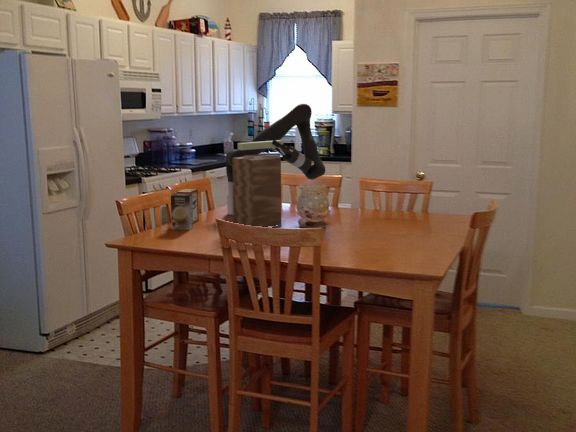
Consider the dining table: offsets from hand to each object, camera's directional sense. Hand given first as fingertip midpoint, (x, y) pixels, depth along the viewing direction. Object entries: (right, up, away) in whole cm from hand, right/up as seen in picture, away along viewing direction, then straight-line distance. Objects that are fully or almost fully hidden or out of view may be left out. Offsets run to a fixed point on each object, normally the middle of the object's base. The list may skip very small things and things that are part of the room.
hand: (270, 141), depth 305 cm
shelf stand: (-6, -40, -3) cm, 41 cm away
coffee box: (-40, -42, -8) cm, 59 cm away
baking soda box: (-40, -39, +6) cm, 56 cm away
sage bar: (-4, -4, -3) cm, 6 cm away
